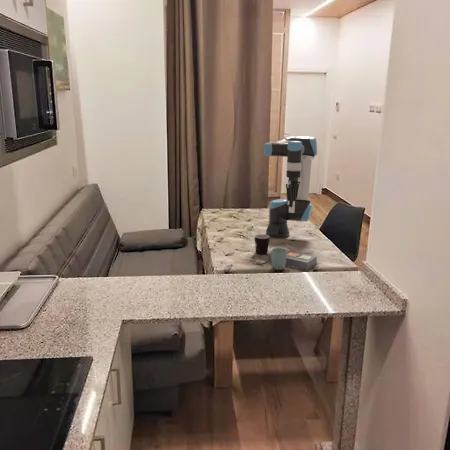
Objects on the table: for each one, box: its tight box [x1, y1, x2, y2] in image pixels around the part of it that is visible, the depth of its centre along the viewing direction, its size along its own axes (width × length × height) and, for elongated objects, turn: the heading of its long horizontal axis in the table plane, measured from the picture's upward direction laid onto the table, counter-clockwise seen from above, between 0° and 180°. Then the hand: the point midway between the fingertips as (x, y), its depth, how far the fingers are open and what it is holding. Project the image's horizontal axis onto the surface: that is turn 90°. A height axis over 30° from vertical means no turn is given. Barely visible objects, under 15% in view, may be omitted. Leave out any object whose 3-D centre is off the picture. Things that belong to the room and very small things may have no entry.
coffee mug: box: [254, 234, 271, 256], centre depth 256 cm, size 12×9×10 cm
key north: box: [298, 255, 313, 261], centre depth 237 cm, size 6×6×4 cm
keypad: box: [267, 249, 318, 271], centre depth 242 cm, size 12×23×4 cm, turn 55°
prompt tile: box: [253, 258, 268, 266], centre depth 241 cm, size 6×5×1 cm
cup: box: [270, 247, 288, 271], centre depth 231 cm, size 8×8×10 cm
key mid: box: [287, 252, 300, 258], centre depth 242 cm, size 6×6×4 cm
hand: (291, 212), depth 249 cm, fingers closed
